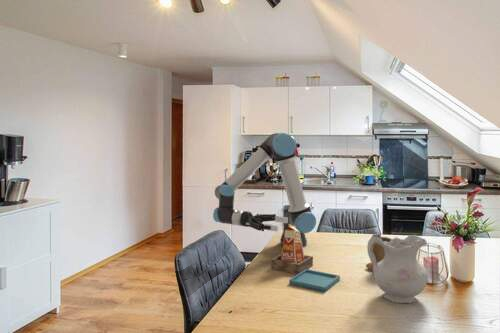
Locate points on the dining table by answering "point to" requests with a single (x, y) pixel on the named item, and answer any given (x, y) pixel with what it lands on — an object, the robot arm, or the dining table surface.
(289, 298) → the dining table surface
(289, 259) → the milk carton
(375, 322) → the dining table surface
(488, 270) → the dining table surface
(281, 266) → the holder
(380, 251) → the stone cup
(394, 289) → the ceramic pitcher
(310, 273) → the tray
